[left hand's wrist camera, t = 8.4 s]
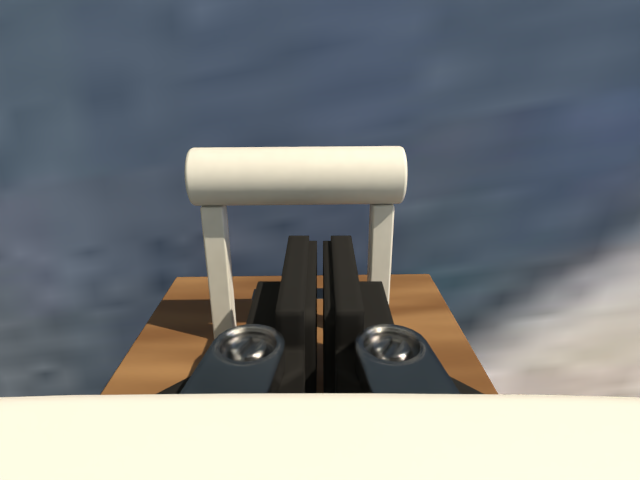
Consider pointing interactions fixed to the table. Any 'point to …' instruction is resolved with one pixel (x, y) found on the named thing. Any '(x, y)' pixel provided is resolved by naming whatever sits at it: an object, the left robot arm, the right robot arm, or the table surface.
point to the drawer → (237, 292)
